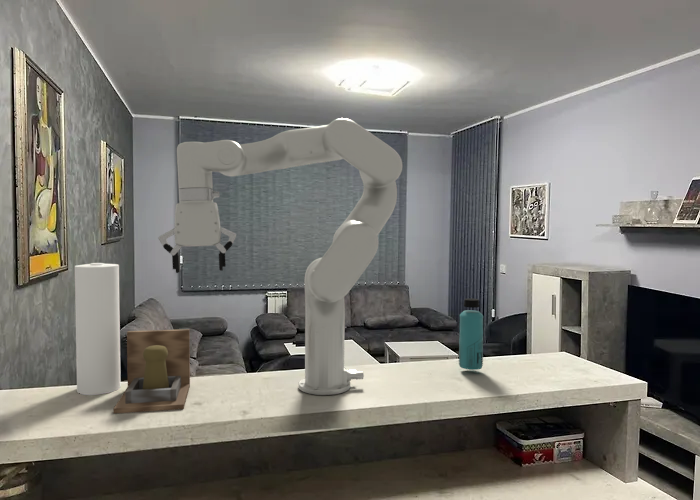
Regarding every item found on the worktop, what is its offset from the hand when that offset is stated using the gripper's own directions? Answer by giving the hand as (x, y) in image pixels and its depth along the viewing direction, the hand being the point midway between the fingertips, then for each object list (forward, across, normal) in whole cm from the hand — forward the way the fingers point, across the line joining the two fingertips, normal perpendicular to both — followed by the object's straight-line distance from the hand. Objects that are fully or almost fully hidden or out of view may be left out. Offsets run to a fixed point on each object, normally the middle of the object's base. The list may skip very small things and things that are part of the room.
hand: (199, 271), depth 122 cm
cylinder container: (+28, +25, -8) cm, 38 cm away
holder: (+28, +11, +2) cm, 30 cm away
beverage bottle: (+32, -69, -4) cm, 76 cm away
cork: (+27, +11, +2) cm, 30 cm away
